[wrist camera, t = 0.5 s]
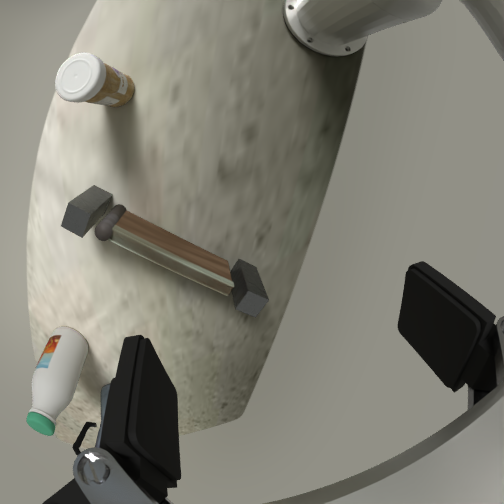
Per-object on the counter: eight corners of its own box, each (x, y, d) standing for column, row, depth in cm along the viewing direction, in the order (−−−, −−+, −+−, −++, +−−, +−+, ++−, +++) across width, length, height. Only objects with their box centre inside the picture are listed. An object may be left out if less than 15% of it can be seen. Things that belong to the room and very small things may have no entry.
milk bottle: (79, 323, 41) (44, 416, 23) (95, 355, 45) (72, 444, 27) (47, 325, 40) (7, 409, 22) (63, 355, 44) (35, 437, 26)
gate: (116, 201, 34) (98, 220, 27) (229, 258, 40) (235, 287, 34) (108, 219, 35) (90, 242, 28) (219, 274, 41) (223, 304, 34)
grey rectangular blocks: (94, 185, 33) (68, 202, 25) (256, 267, 42) (268, 299, 35) (86, 204, 34) (61, 226, 26) (245, 282, 43) (255, 317, 35)
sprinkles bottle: (141, 82, 28) (109, 61, 16) (122, 113, 30) (81, 109, 18) (113, 68, 27) (71, 45, 15) (95, 99, 28) (45, 91, 16)
